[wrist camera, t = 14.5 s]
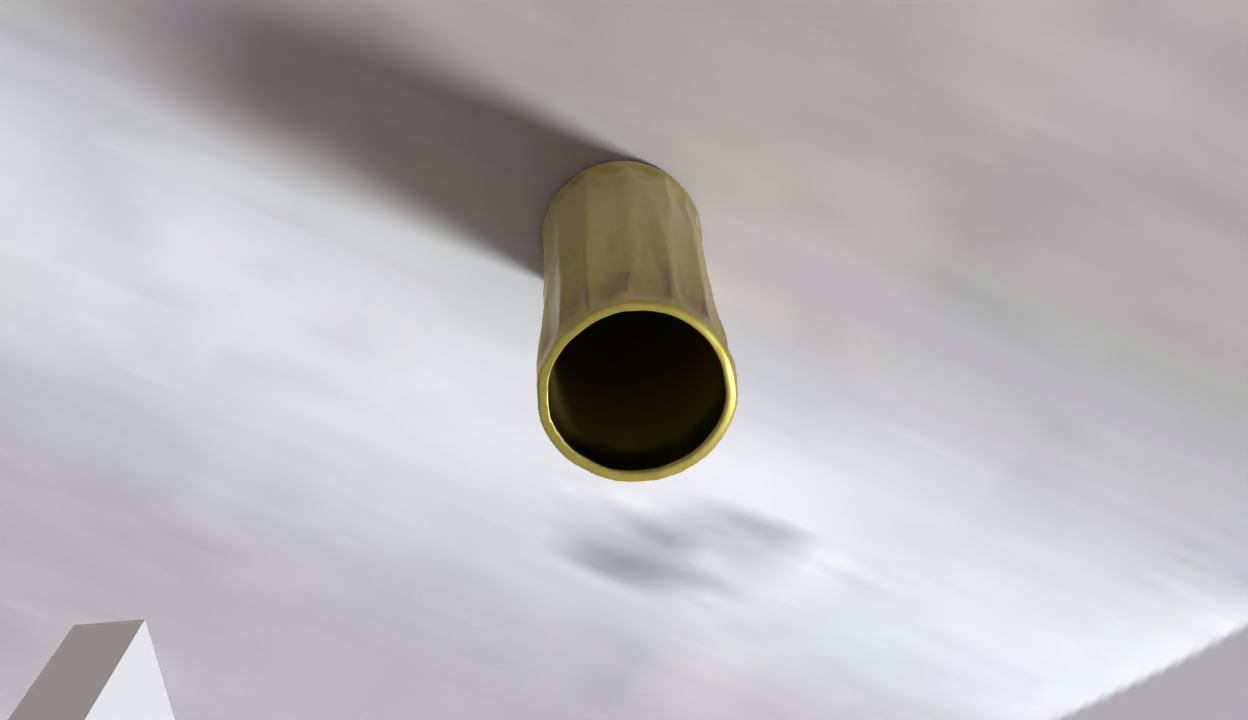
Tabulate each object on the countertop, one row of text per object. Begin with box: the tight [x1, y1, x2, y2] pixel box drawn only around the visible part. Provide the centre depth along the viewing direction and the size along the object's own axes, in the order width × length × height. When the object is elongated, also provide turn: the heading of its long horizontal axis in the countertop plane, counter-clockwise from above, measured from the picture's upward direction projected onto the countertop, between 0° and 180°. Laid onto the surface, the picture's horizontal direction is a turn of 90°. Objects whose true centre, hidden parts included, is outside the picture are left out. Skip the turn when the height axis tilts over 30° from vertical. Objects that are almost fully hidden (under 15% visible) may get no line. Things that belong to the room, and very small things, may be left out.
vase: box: [537, 161, 738, 482], centre depth 33 cm, size 6×6×14 cm
